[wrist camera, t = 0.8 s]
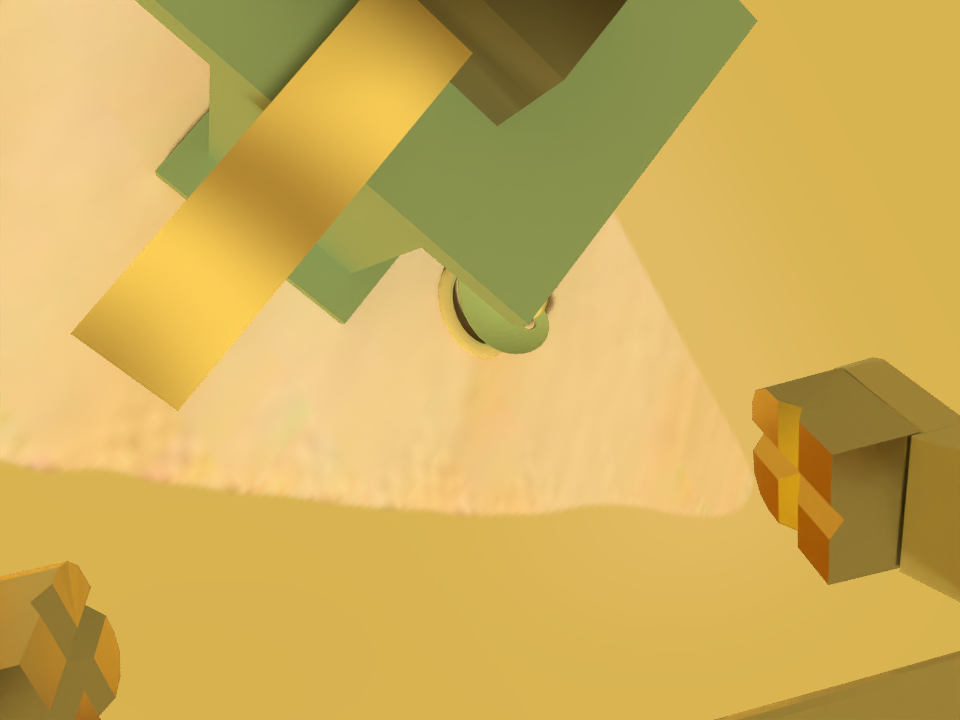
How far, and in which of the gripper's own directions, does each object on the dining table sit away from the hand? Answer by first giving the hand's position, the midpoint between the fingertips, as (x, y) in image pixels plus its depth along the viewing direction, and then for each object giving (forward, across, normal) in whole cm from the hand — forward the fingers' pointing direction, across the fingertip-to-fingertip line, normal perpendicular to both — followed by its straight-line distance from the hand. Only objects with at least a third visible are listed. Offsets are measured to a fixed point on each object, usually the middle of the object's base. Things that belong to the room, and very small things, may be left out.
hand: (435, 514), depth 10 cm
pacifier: (+40, -5, +16) cm, 43 cm away
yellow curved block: (+17, 0, -2) cm, 17 cm away
